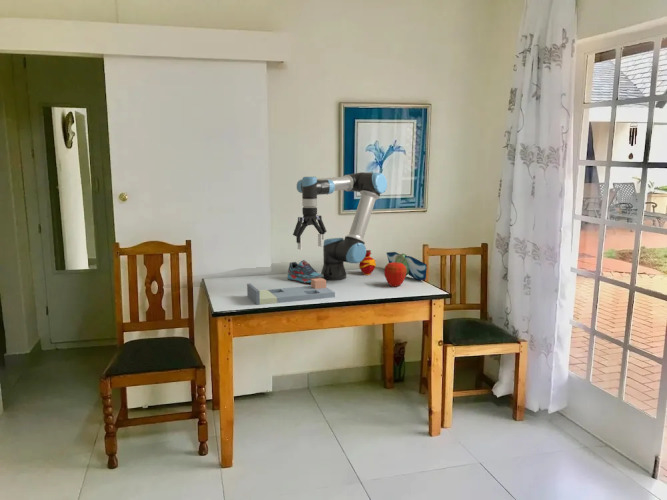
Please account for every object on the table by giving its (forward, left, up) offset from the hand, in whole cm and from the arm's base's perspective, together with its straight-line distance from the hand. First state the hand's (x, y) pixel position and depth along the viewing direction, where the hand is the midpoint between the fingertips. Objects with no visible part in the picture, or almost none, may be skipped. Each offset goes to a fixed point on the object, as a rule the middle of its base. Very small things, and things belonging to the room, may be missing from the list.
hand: (310, 247), depth 277 cm
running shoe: (-4, -21, -23) cm, 31 cm away
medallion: (-63, -12, -23) cm, 68 cm away
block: (-3, +5, -20) cm, 21 cm away
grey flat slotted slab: (+14, +10, -23) cm, 28 cm away
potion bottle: (-45, -24, -23) cm, 56 cm away
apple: (-46, +8, -23) cm, 52 cm away
